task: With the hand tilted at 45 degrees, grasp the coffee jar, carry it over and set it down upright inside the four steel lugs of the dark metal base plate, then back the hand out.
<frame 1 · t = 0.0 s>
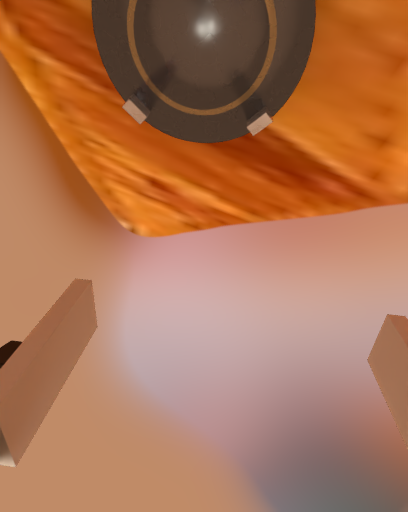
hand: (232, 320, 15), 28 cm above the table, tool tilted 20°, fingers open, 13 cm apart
lug base plate: (202, 36, 31), on the table
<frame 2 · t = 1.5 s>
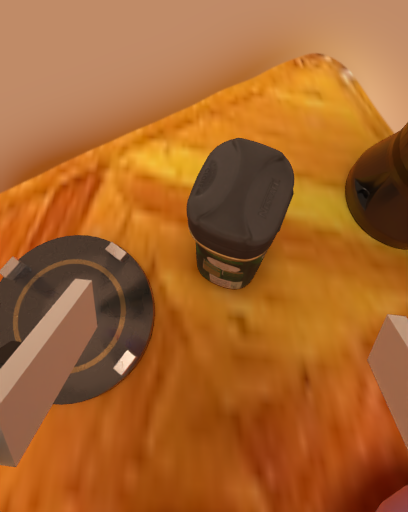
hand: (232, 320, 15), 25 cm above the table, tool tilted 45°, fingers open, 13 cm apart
lug base plate: (74, 315, 40), on the table
coffee jar: (230, 253, 42), on the table
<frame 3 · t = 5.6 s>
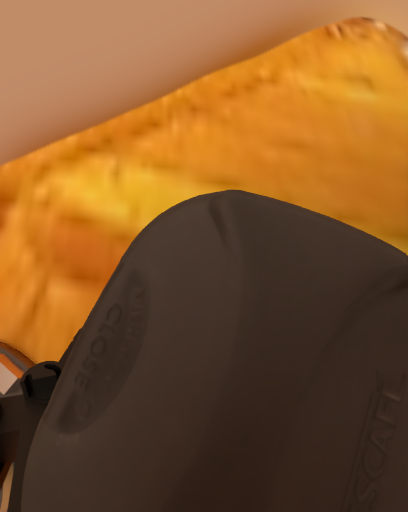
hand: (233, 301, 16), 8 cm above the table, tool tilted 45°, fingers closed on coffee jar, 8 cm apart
coffee jar: (220, 364, 23), on the table, touching gripper
when the fingers open (12 cm above the table, at t = 11.4 s): coffee jar drops 2 cm, resting on lug base plate.
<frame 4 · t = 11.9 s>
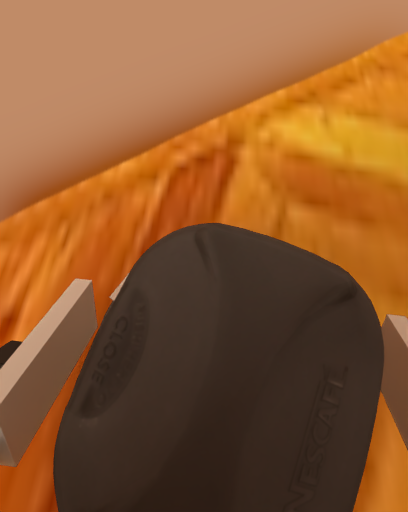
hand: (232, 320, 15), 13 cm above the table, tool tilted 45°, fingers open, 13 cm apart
coffee jar: (216, 363, 25), point 1 cm above the table, touching lug base plate
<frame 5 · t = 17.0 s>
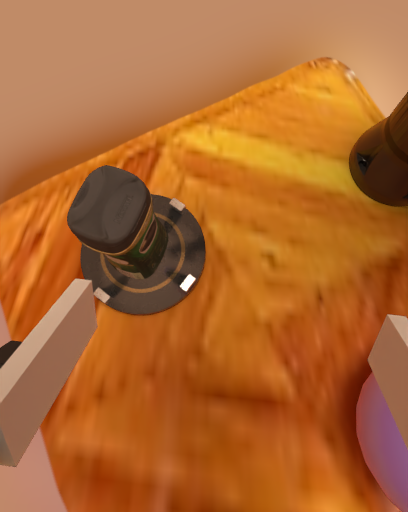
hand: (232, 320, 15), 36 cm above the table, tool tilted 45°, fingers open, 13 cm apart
lug base plate: (144, 253, 53), on the table
coffee jar: (141, 250, 52), point 1 cm above the table, touching lug base plate
ball: (402, 418, 46), on the table
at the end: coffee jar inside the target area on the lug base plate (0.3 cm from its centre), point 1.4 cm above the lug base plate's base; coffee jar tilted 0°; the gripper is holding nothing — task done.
